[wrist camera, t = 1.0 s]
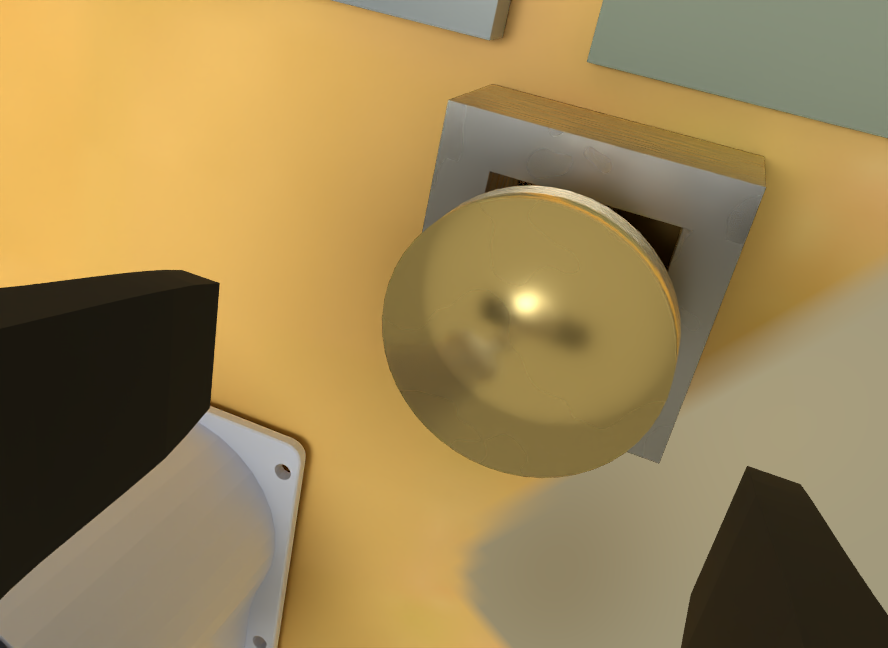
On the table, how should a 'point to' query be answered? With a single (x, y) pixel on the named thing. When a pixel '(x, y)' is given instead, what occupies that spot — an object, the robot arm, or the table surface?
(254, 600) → the robot arm
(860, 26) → the mat
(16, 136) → the table surface
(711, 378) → the table surface
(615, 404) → the plunger
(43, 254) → the table surface
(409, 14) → the filter base
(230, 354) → the table surface
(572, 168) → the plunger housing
